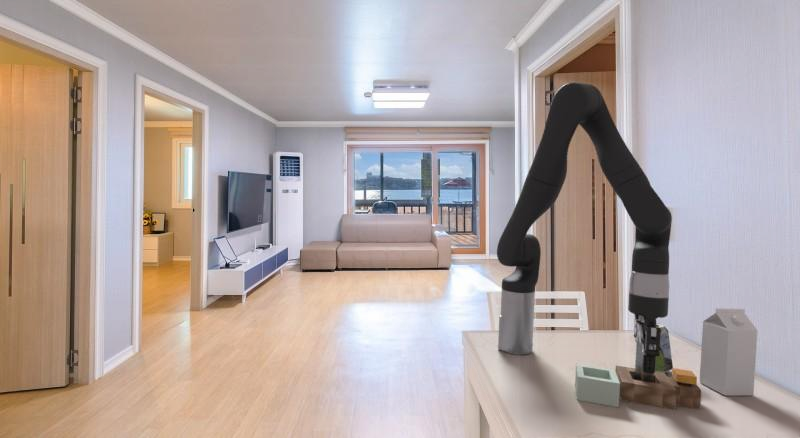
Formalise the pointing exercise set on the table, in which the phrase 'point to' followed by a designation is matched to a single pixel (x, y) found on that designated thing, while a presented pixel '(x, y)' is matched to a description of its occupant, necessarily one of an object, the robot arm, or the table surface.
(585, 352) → the table surface
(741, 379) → the milk carton
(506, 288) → the robot arm
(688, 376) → the orange square-headed peg
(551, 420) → the table surface
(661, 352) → the beverage can
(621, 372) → the socket block
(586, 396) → the rack
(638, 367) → the peg
